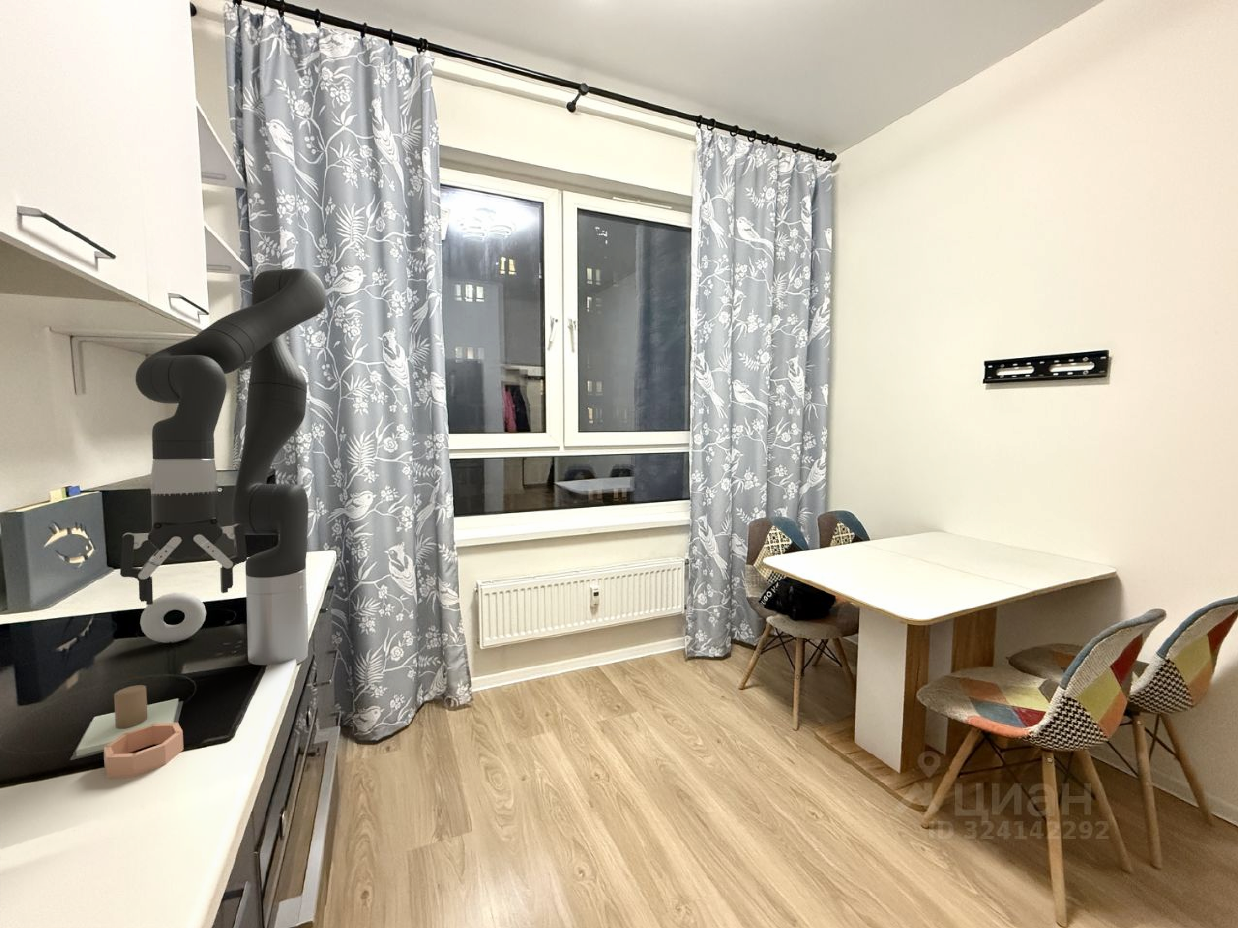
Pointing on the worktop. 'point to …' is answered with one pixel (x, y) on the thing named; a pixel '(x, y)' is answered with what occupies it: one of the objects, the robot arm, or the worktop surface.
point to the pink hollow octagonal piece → (134, 764)
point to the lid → (126, 718)
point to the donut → (173, 633)
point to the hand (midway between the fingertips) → (188, 597)
